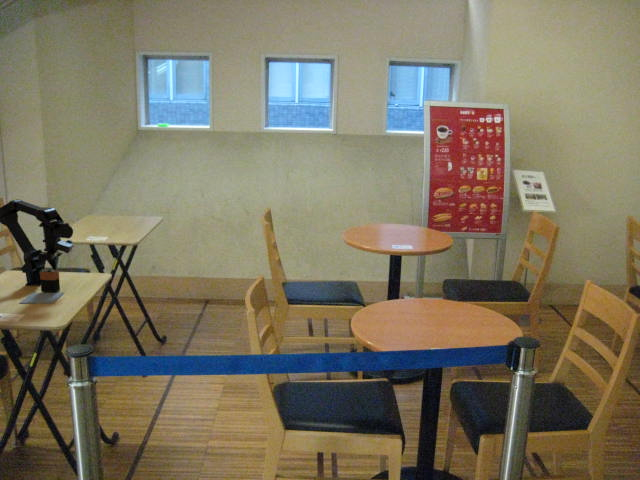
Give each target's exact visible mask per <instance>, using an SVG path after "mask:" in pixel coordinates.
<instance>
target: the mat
mask: <svg viewBox="0 0 640 480" xmlns="http://www.w3.org/2000/svg"><path fill="white" fill-rule="evenodd" d="M64 294H65V292H54V293H51V292H31V293H30V294H29V295H28V296H26V297H25V298H23V299H22V300H20V302H19V305H20V304H22V305H23V304H54V303H55V302H56V301H57V300H59V299H60V298H61V297H62V296H64Z"/></svg>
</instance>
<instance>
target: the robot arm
mask: <svg viewBox="0 0 640 480" xmlns="http://www.w3.org/2000/svg"><path fill="white" fill-rule="evenodd" d="M18 212H21V213H25V214H27V215H29V216H33V217H35V218H36V220H37V221H38V222H41V223H39V224H38V227H40V228H42V230H43V238H44V239H42V243H44V246H45V247H44V248H43V250H42V249H37V248H35V247H34V246H33V243H32V242H31V241H30V239H29V237H28V236H27V234H26V232H25V231H24V229H23V228H22V226H21V224H20V223H19V214H18ZM0 223H1V225H3V226H5V227H7V229H8V231H9V232H10V234H11V235H12V237H13V239H14V241H15V242H16V244H17V245H18V247H19V248H20V250H21V251H22V253H23V262H24V264H23V266H22V267H21V271H22V273H23V274H25V277H26V283H25V286H41V281H40V272H42V271H43V269H46V263H48V264H49V266H51V269H52V270H55V271H57V270H58V263H59V260H60V257H61V256H62V255H63V253H64V254H65V253H66V254H69V253H71V252H72V249H73V247H74V243H73V240H72V239H71V238H72V237H73V234H74V230H73V228H72V226H71V225H70V223H69V222H65V221H64V220H63V218H62V217H61V215H60V214H59V212H58V211H57V209H56V208H54V207H47V206H45V207H41V206H39V205H35V204H33V203H29V202H27V201H23V199H20V198H18V199H13V200H10V201H9V202H7V203H6V204H4V205H3V206H1V207H0ZM62 239H68V240H66V241H65V240H64V241H62Z"/></svg>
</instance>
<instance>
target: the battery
mask: <svg viewBox="0 0 640 480" xmlns="http://www.w3.org/2000/svg"><path fill="white" fill-rule="evenodd" d="M40 281H41V284H40V291H41V293H58V292H60V290H61V286H60V271H59V270H53V269H49V268H44V269H42V272H40Z"/></svg>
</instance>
